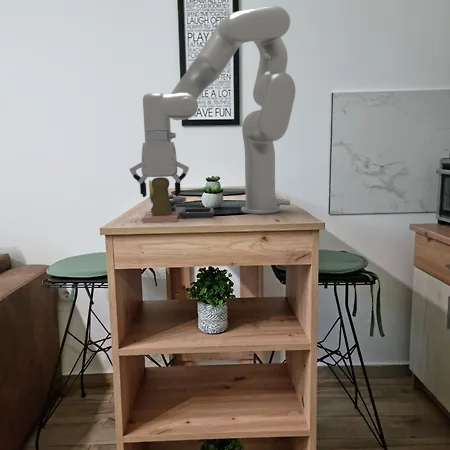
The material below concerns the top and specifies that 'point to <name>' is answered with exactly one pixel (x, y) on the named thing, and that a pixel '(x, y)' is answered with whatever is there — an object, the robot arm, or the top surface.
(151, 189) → the handwheel
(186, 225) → the top surface
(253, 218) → the top surface
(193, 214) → the collar
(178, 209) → the hub
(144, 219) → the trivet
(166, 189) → the cork
